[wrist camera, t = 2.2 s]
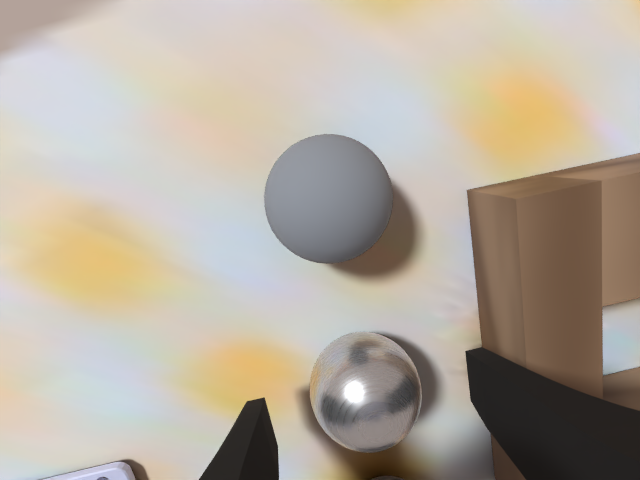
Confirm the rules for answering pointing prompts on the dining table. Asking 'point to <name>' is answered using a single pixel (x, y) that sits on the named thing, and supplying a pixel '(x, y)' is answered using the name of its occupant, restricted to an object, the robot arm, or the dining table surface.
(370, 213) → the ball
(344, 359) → the steel ball
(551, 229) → the hole plate
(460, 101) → the dining table surface
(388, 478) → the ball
